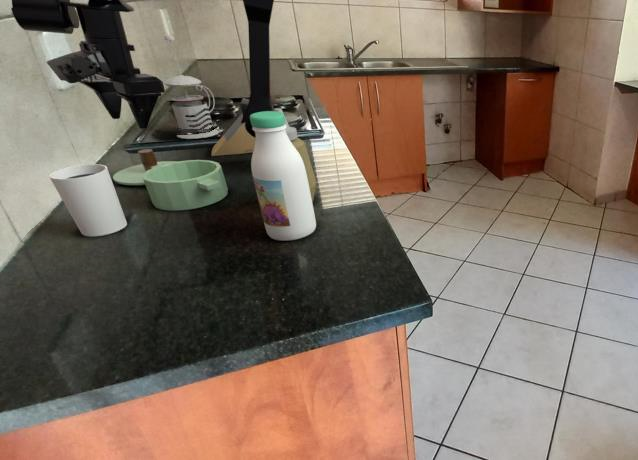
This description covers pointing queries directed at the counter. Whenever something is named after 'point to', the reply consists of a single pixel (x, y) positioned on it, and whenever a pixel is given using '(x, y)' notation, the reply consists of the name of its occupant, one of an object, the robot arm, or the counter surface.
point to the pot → (185, 184)
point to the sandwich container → (235, 140)
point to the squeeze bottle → (301, 154)
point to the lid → (138, 169)
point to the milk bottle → (280, 180)
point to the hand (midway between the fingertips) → (129, 123)
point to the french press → (193, 101)
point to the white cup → (90, 198)
